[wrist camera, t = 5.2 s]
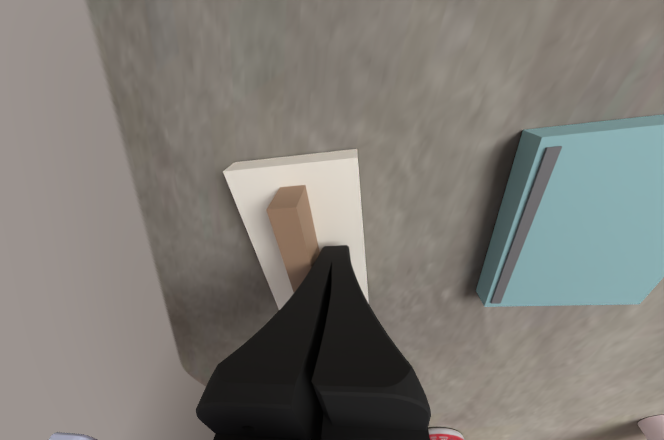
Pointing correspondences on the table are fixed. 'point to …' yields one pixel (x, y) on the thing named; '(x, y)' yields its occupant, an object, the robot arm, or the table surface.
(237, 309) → the table surface
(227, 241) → the table surface
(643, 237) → the teal flat block
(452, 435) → the pill bottle
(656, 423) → the smoothie
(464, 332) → the table surface
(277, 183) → the cream block with bar
